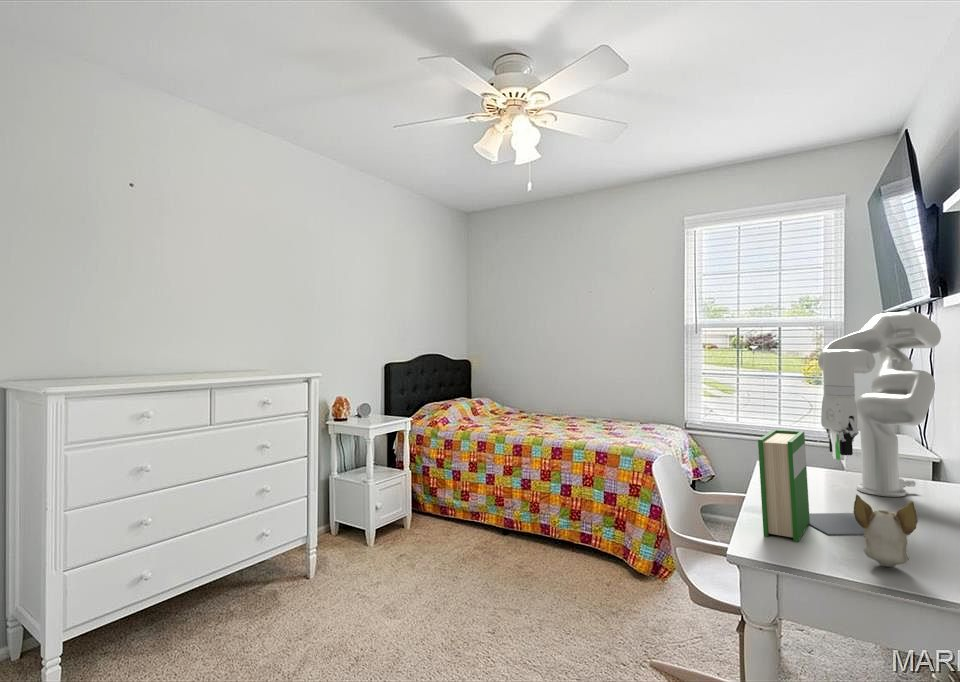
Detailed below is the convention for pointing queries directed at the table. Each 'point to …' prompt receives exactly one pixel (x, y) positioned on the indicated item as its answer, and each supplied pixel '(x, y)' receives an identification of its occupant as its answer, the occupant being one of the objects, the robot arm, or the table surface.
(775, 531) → the hardback book
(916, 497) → the table surface
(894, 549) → the ceramic sculpture
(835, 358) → the robot arm
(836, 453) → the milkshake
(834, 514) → the mouse pad
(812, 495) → the table surface
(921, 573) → the table surface
